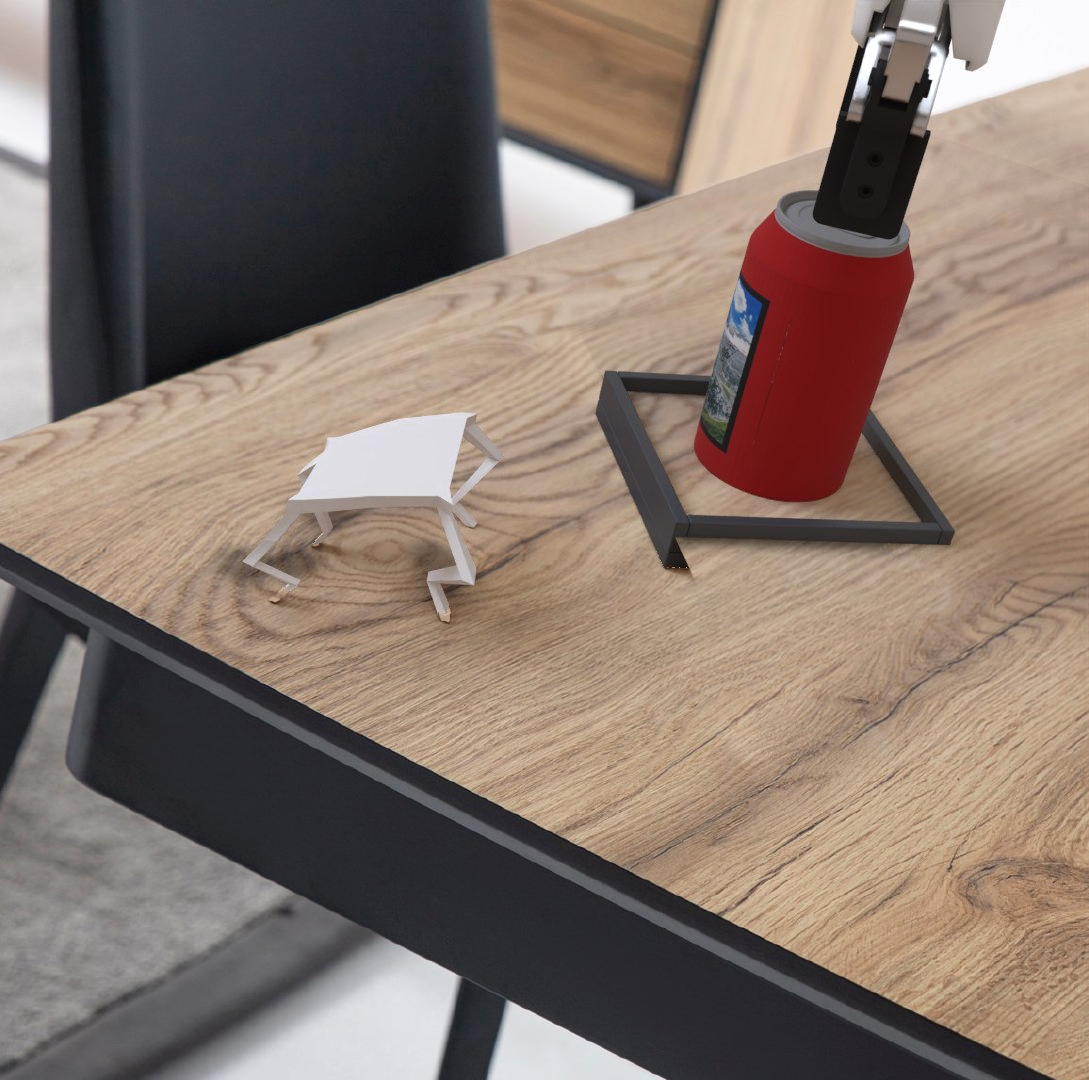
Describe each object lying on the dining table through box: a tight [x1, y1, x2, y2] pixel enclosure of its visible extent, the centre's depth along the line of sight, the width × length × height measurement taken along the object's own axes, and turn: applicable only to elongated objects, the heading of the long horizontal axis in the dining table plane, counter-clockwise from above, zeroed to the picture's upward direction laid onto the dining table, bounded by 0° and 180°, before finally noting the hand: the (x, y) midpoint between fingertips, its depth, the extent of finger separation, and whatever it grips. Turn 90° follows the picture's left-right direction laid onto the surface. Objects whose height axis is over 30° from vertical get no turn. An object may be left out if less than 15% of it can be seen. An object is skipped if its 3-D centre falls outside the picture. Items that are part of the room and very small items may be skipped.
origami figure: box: [241, 411, 505, 615], centre depth 62 cm, size 12×8×5 cm
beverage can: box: [693, 189, 915, 503], centre depth 68 cm, size 7×7×12 cm
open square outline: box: [594, 370, 956, 569], centre depth 71 cm, size 12×12×2 cm
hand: (863, 181), depth 64 cm, fingers open, 9 cm apart
